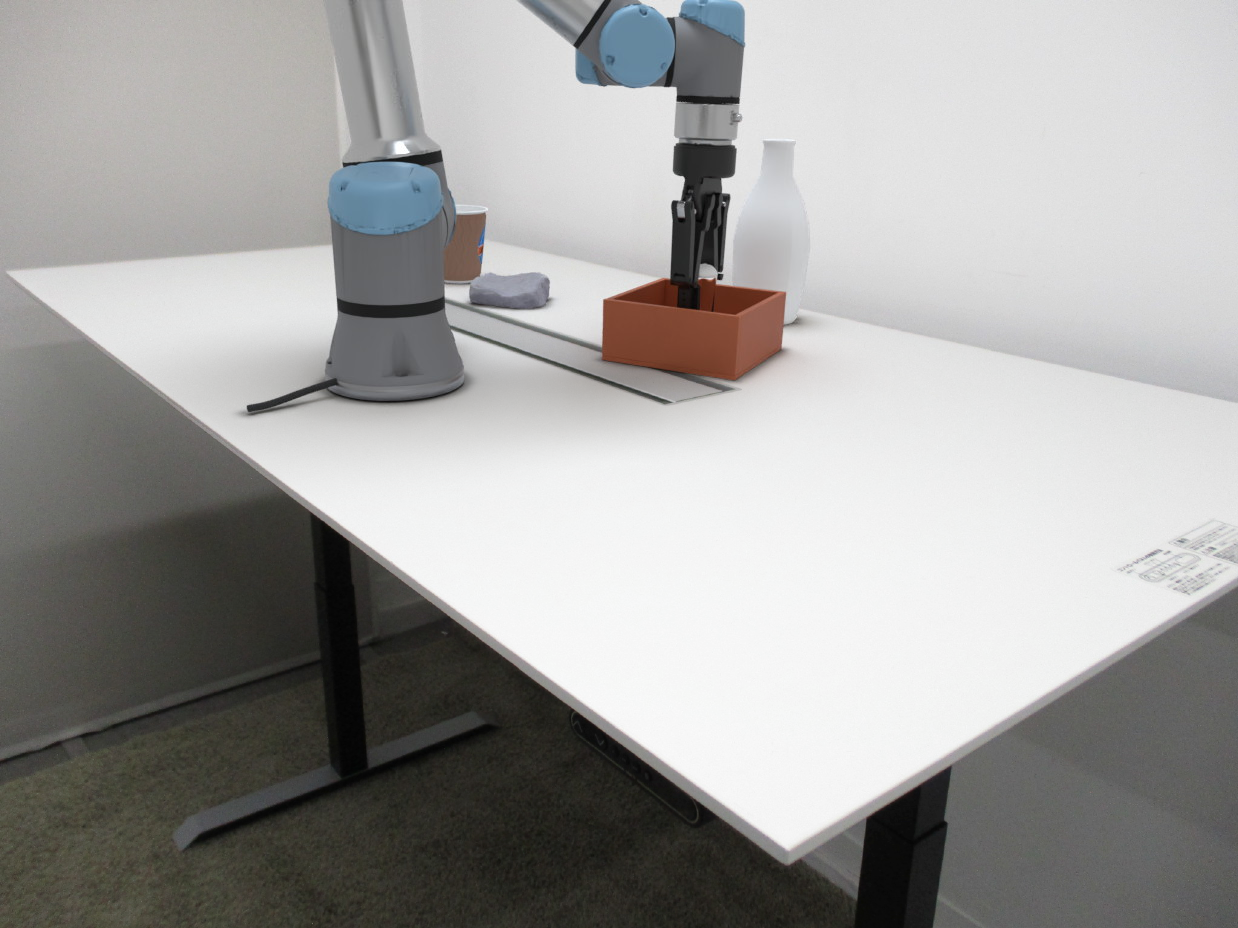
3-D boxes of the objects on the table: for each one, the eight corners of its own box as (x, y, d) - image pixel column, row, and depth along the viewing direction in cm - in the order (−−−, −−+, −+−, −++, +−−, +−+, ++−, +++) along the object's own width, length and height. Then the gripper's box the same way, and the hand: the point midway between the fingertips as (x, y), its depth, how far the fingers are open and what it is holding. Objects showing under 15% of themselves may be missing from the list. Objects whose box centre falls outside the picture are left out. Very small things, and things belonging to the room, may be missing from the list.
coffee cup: (496, 284, 170) (495, 211, 166) (435, 287, 166) (433, 212, 162) (481, 273, 179) (479, 204, 174) (423, 275, 175) (420, 205, 171)
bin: (734, 380, 118) (739, 317, 115) (601, 360, 125) (603, 299, 123) (781, 349, 133) (786, 291, 130) (660, 332, 140) (662, 277, 138)
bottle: (746, 308, 157) (758, 136, 148) (814, 317, 152) (831, 140, 143) (715, 320, 148) (726, 139, 139) (786, 331, 143) (802, 143, 134)
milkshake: (685, 329, 132) (691, 252, 128) (719, 336, 129) (726, 258, 125) (664, 334, 128) (669, 255, 125) (698, 342, 125) (705, 261, 122)
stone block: (542, 320, 152) (552, 295, 161) (540, 291, 150) (550, 266, 158) (465, 319, 154) (479, 294, 162) (461, 290, 151) (476, 265, 159)
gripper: (707, 146, 111) (695, 352, 119) (759, 141, 126) (745, 325, 134) (646, 143, 114) (638, 344, 123) (703, 138, 129) (693, 318, 137)
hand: (694, 333), depth 128 cm, fingers closed on milkshake, 4 cm apart
